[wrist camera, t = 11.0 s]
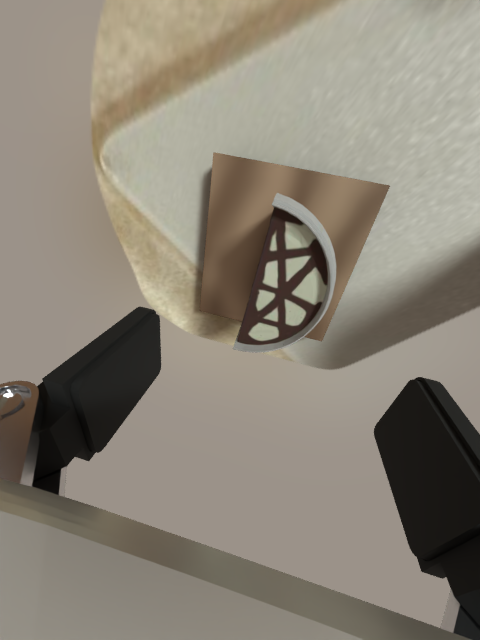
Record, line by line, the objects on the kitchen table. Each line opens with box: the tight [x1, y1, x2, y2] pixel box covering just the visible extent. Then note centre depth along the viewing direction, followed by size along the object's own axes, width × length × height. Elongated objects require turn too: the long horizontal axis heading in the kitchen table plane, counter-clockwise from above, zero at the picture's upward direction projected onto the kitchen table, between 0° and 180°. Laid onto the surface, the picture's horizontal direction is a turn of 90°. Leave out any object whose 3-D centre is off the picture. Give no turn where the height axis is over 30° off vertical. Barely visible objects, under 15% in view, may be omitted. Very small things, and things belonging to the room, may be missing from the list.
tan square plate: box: [200, 153, 390, 341], centre depth 26 cm, size 16×17×3 cm
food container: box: [233, 193, 336, 352], centre depth 21 cm, size 12×6×10 cm, turn 167°
